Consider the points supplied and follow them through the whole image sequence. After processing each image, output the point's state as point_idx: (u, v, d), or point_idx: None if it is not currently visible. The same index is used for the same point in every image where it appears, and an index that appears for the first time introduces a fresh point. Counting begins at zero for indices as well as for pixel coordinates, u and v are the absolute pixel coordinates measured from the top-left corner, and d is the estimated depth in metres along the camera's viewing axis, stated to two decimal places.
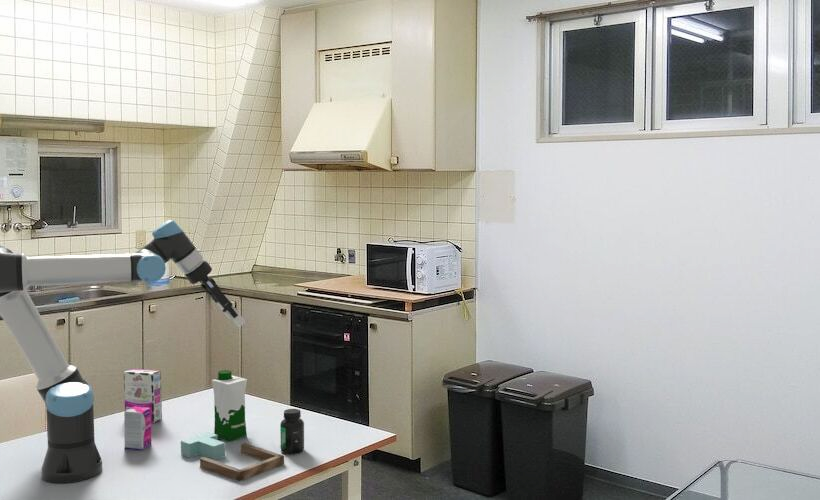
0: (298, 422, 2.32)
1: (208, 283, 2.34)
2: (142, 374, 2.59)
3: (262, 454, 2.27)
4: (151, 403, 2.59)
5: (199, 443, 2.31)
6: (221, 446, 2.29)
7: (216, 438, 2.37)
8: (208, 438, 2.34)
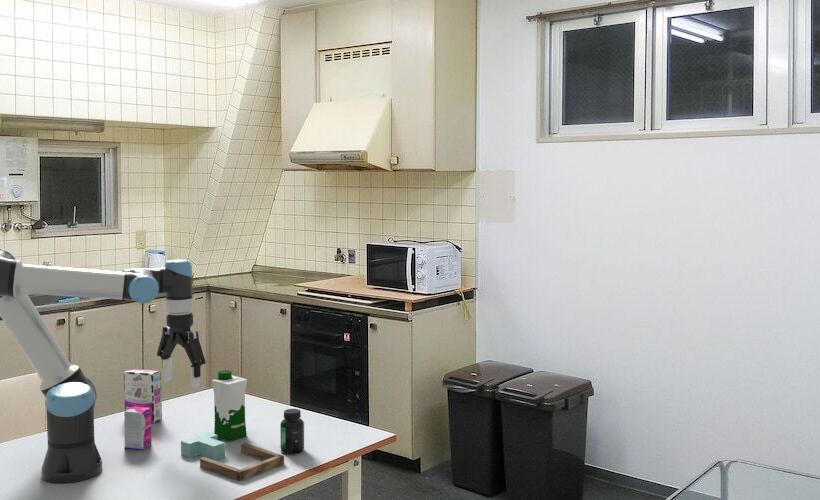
0: (298, 422, 2.32)
1: (194, 333, 2.32)
2: (142, 374, 2.59)
3: (262, 454, 2.27)
4: (151, 403, 2.59)
5: (199, 443, 2.31)
6: (221, 446, 2.29)
7: (216, 438, 2.37)
8: (208, 438, 2.34)
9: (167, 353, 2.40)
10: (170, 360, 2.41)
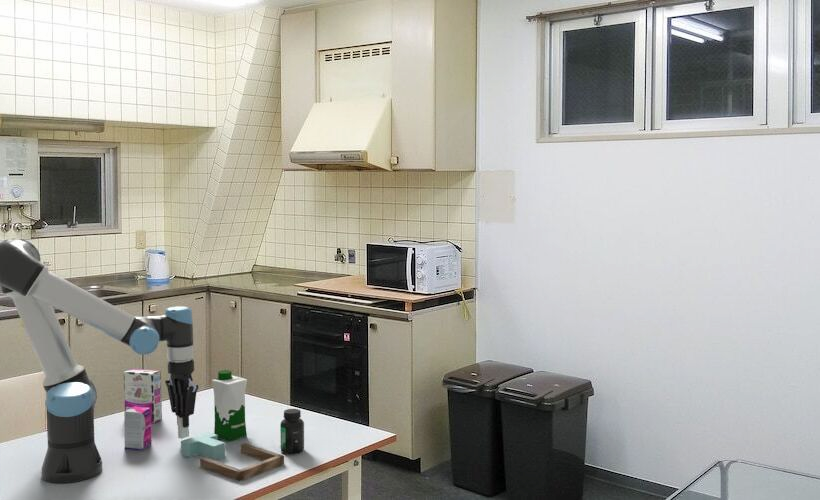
0: (298, 422, 2.32)
1: (194, 388, 2.34)
2: (142, 374, 2.59)
3: (262, 454, 2.27)
4: (150, 403, 2.59)
5: (199, 443, 2.31)
6: (221, 446, 2.29)
7: (216, 438, 2.37)
8: (208, 438, 2.34)
9: (179, 406, 2.38)
10: None
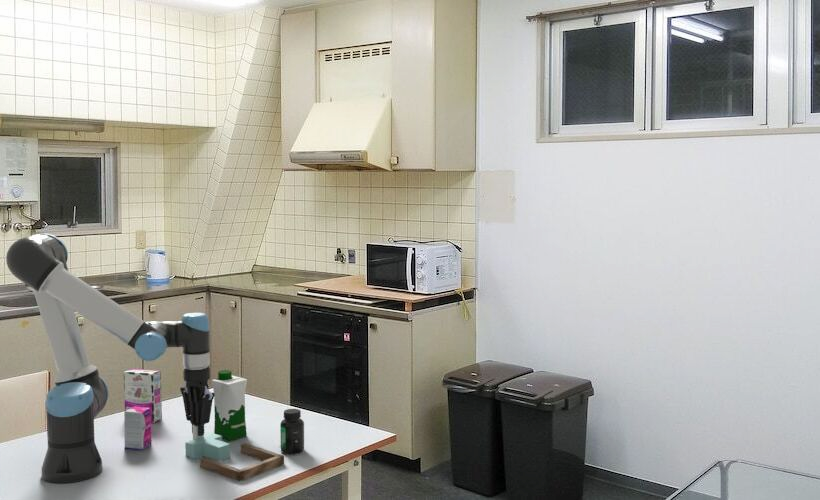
0: (298, 422, 2.32)
1: (210, 396, 2.29)
2: (142, 374, 2.59)
3: (262, 454, 2.27)
4: (151, 403, 2.59)
5: (204, 444, 2.30)
6: (226, 447, 2.28)
7: (221, 439, 2.35)
8: (213, 439, 2.32)
9: (194, 414, 2.34)
10: None
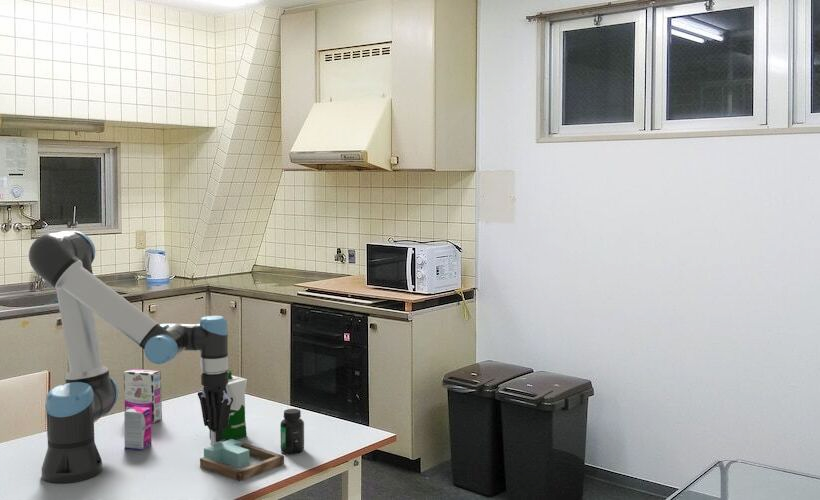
0: (298, 422, 2.32)
1: (229, 401, 2.24)
2: (142, 374, 2.59)
3: (262, 454, 2.27)
4: (150, 403, 2.59)
5: (223, 450, 2.25)
6: (245, 453, 2.23)
7: (239, 445, 2.31)
8: (231, 445, 2.28)
9: (212, 419, 2.29)
10: None
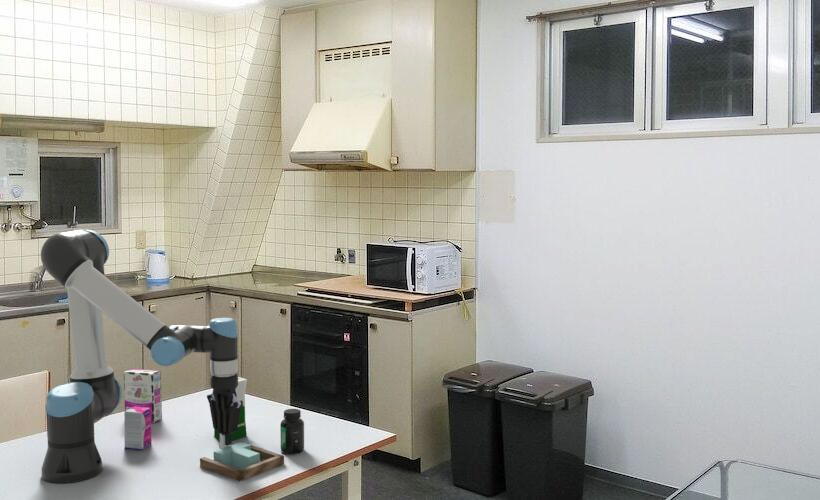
0: (298, 422, 2.32)
1: (238, 404, 2.22)
2: (142, 374, 2.59)
3: (262, 454, 2.27)
4: (151, 403, 2.59)
5: (233, 454, 2.22)
6: (256, 457, 2.21)
7: (249, 448, 2.28)
8: (241, 448, 2.25)
9: (222, 423, 2.26)
10: None
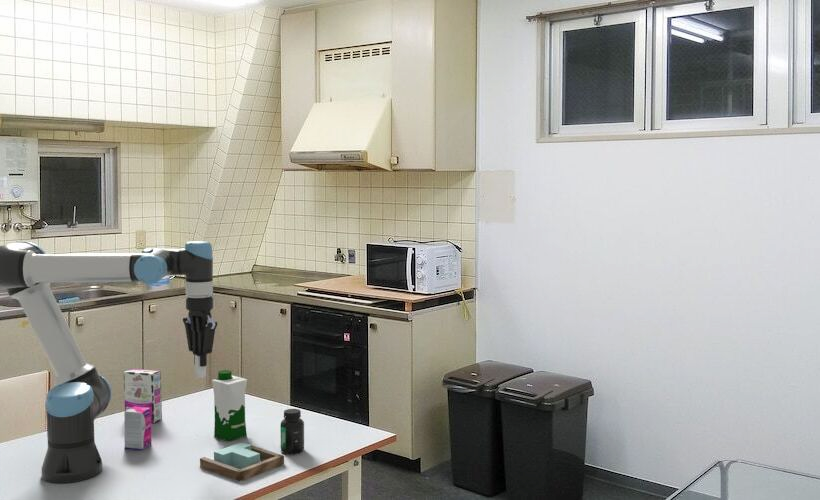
0: (298, 422, 2.32)
1: (213, 325, 2.26)
2: (142, 374, 2.59)
3: (262, 454, 2.27)
4: (150, 403, 2.59)
5: (233, 454, 2.22)
6: (256, 457, 2.21)
7: (250, 448, 2.28)
8: (242, 449, 2.25)
9: (197, 345, 2.30)
10: None
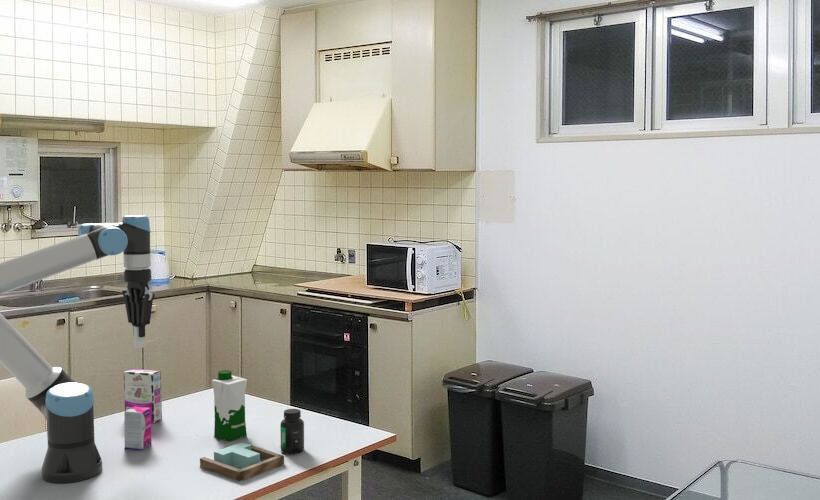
0: (298, 422, 2.32)
1: (150, 296, 2.31)
2: (142, 374, 2.59)
3: (262, 454, 2.27)
4: (150, 403, 2.59)
5: (233, 454, 2.22)
6: (256, 457, 2.21)
7: (250, 448, 2.28)
8: (242, 449, 2.25)
9: (136, 316, 2.36)
10: None
